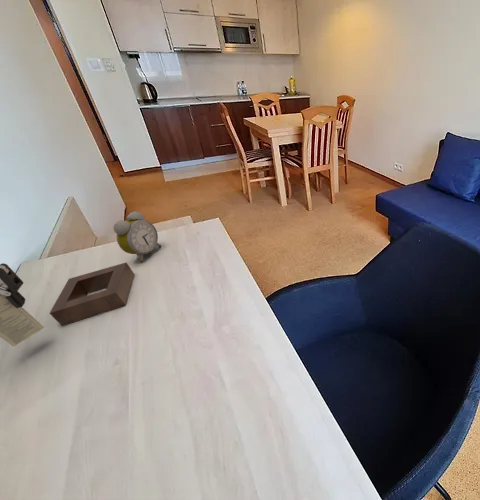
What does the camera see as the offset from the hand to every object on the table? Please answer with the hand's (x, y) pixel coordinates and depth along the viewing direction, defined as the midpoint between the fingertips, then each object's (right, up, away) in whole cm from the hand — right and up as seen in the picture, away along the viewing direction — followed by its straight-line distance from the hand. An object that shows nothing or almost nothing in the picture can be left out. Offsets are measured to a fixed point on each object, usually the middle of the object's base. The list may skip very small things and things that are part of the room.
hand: (0, 311), depth 68 cm
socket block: (+5, 0, +21) cm, 22 cm away
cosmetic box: (+1, -7, +5) cm, 8 cm away
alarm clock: (+7, +12, +39) cm, 41 cm away
